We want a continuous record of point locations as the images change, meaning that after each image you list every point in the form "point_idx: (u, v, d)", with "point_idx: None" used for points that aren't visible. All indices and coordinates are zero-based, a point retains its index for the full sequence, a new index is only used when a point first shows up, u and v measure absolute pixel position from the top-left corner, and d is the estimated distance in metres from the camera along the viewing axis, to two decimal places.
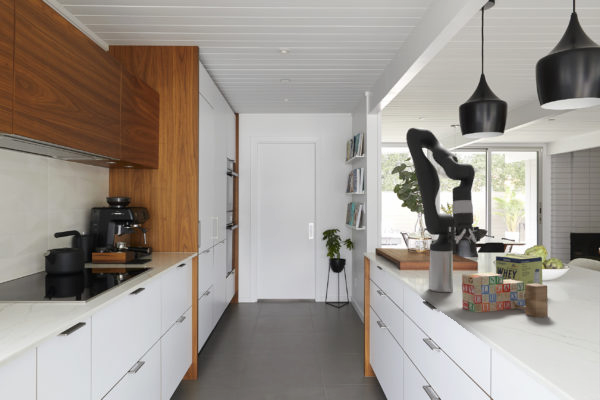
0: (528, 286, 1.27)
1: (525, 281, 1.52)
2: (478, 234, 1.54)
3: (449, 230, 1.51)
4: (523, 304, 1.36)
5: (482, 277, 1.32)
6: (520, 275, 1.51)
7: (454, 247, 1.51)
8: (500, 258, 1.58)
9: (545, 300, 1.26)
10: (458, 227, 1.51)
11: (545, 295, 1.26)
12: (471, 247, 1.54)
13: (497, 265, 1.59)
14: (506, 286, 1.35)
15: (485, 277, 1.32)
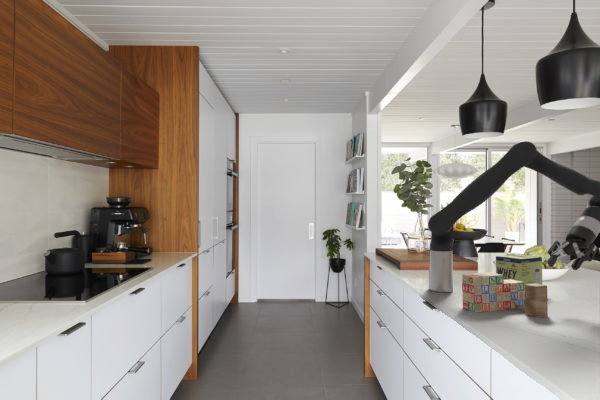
0: (528, 286, 1.27)
1: (525, 281, 1.52)
2: None
3: (594, 248, 1.26)
4: (523, 304, 1.36)
5: (482, 277, 1.32)
6: (520, 275, 1.51)
7: (580, 264, 1.26)
8: (500, 258, 1.58)
9: (545, 300, 1.26)
10: None
11: (545, 295, 1.26)
12: (552, 260, 1.35)
13: (497, 265, 1.59)
14: (507, 286, 1.35)
15: (485, 277, 1.32)
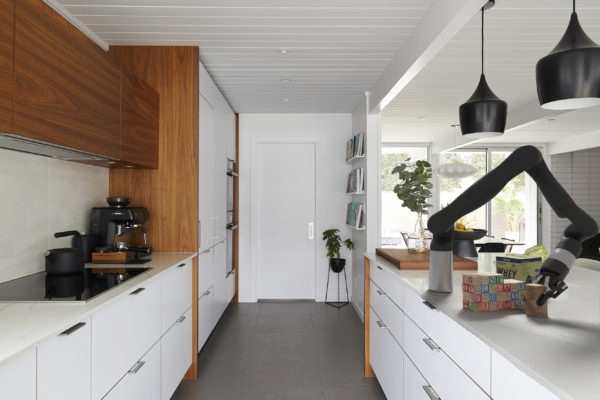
0: (528, 286, 1.27)
1: (525, 281, 1.52)
2: None
3: (563, 286, 1.22)
4: (524, 304, 1.36)
5: (482, 277, 1.33)
6: (520, 275, 1.51)
7: (544, 300, 1.24)
8: (500, 258, 1.58)
9: None
10: None
11: None
12: None
13: (497, 265, 1.59)
14: (507, 286, 1.35)
15: (485, 277, 1.33)
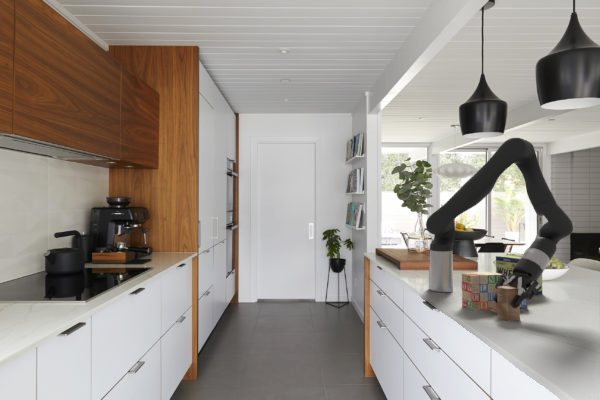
0: (500, 289, 1.23)
1: None
2: None
3: (536, 286, 1.18)
4: (525, 304, 1.36)
5: (480, 276, 1.34)
6: None
7: (519, 302, 1.19)
8: (500, 258, 1.58)
9: None
10: None
11: None
12: None
13: (497, 265, 1.59)
14: None
15: (483, 276, 1.34)
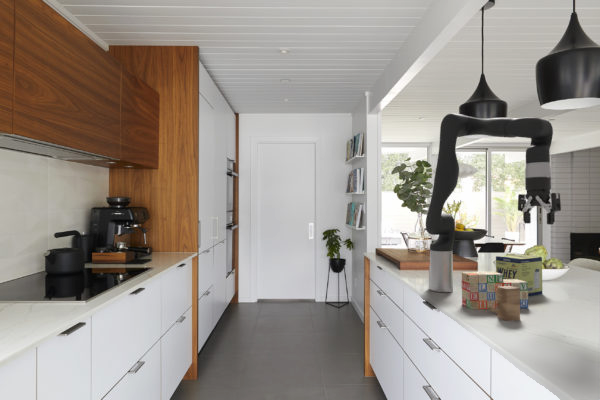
0: (500, 289, 1.23)
1: (525, 281, 1.52)
2: None
3: (556, 197, 1.24)
4: (526, 304, 1.36)
5: (479, 275, 1.35)
6: (520, 275, 1.51)
7: (553, 217, 1.26)
8: (500, 258, 1.58)
9: (517, 303, 1.22)
10: None
11: (518, 298, 1.22)
12: (527, 217, 1.35)
13: (497, 265, 1.59)
14: (507, 285, 1.36)
15: (482, 275, 1.36)
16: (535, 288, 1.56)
